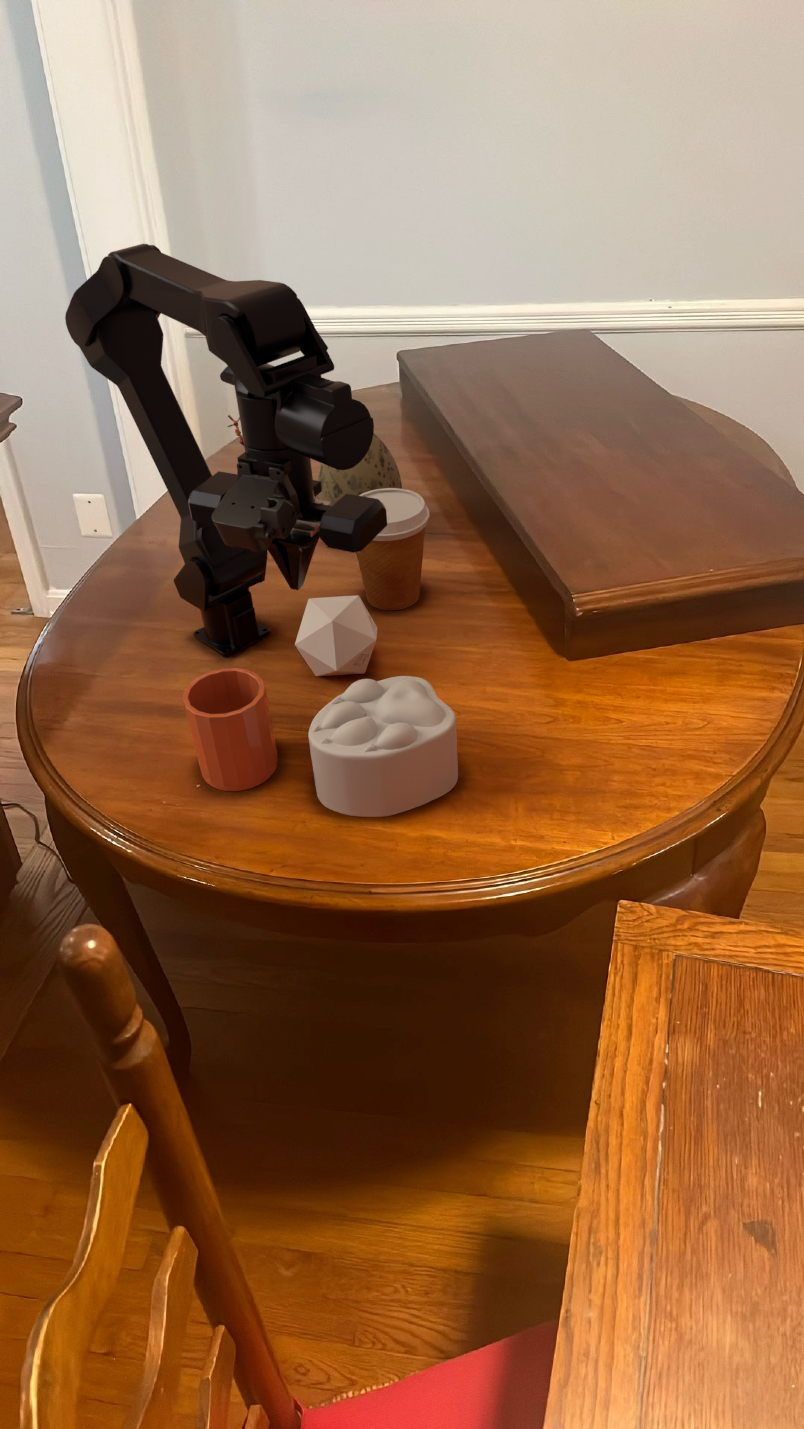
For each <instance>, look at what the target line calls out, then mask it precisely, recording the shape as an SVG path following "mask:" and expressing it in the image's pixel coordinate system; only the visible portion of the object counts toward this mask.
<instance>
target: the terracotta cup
mask: <svg viewBox="0 0 804 1429" xmlns="http://www.w3.org/2000/svg"><path fill="white" fill-rule="evenodd" d="M182 702H183V707H184V710H185V714H186V718H187V723H188V727H189V730H190V734H191V738H192V739H191V740H192V743H193V747H194V750H195V754H196V755H195V756H196V758H197V763H198V766H199V770H200V773H201V777H202V778H203V780H204V781H205V783H206V784H208V785H209V786H210V787H212V788H214V789H216V790H219V791H223V792H242V791H246V790H250V789H252V788H253V789H254V788H255V787H257V786H260V785H261V784H264V783H265V782H266V781H268V780H269V779H270V778H271V777H272V776H273V775H274V773H275V771H276V769H277V767H278V762H279V760H278V755H279V754H278V748H277V744H276V738H275V732H274V727H273V722H272V716H271V710H270V705H269V699H268V694H267V689H266V685H265V681H263V678H262V676H260V675H258V674H257V673H255V672H254V671H252V670H249V669H246V668H240V667H223V668H219V669H215V670H211V671H207V672H205V673H203V674H202V675H200V676H198V677H195V678H194V679H193V680H192V681H191V682H190V683H189V684H188V685H187V686H186V688H185V690H184V693H183V696H182Z"/></svg>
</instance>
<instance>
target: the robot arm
mask: <svg viewBox="0 0 804 1429" xmlns="http://www.w3.org/2000/svg"><path fill="white" fill-rule="evenodd" d="M161 314H162V315H163V316H166V317H168V318H170V319H173V320H174V321H176V322H179V323H180V324H182V325H184V326H187V327H189V328H191V329H193V330H195V331H197V332H198V333H200V334H201V335H203V336H204V337H205V341H206V345H207V349H208V351H209V352H210V353H211V354H212V355H214V356H215V357H217V359H219V360H221V361H222V362H223V363H224V364H225V365H226V367H224V369H223V370H222V371H221V372H220V373H219V378H220V380H221V382H224V383H225V384H229V385H232V386H234V391H235V392H234V393H235V398H236V403H237V404H236V405H237V410H238V415H239V416H238V418H239V417H240V420H239V422H240V430H241V436H242V437H243V441H244V446H243V448H244V447H245V449H244V452H243V453H241V454H240V455H238V456H237V457H236V458H237V463H236V472H237V471H238V475H237V473H231V472H225V471H219V470H218V471H217V472H216V473H214V474H212V472H211V470H210V468H209V466H208V464H207V460H206V459H205V457H204V454H203V453H202V450H201V448H200V446H199V445H198V442H197V440H196V438H195V436H194V433H193V431H192V429H191V427H190V424H189V422H188V421H187V418H186V416H185V414H184V412H183V410H182V408H181V405H180V403H179V400H178V399H177V397H176V395H175V393H174V391H173V388H172V386H171V384H170V382H169V380H168V378H167V375H166V373H165V371H164V369H163V366H162V360H163V347H164V332H163V331H164V330H163V329H162V326H161V323H160V321H159V318H160V316H161ZM64 320H65V326H66V329H67V332H68V334H69V336H70V338H71V339H72V341H73V342H74V344H76V346H78V347H79V349H80V351H81V352H82V354H83V356H84V358H85V360H86V361H87V363H88V365H89V366H90V367H91V368H92V369H93V370H95V371H96V372H97V373H99V374H100V375H101V376H103V377H105V378H106V379H107V380H109V381H110V382H111V383H113V385H115V386H117V388H118V390H119V392H120V394H121V396H122V398H123V401H124V403H125V405H126V406H127V409H128V411H129V412H130V414H131V416H132V419H133V422H134V423H135V425H136V427H137V429H138V431H139V434H140V436H141V438H142V440H143V443H144V444H145V446H146V448H147V450H148V452H149V455H150V457H151V458H152V461H153V462H154V465H155V467H156V469H157V471H158V473H159V475H160V477H161V480H162V481H163V484H164V486H165V488H166V490H167V492H168V495H169V496H170V499H171V500H172V503H173V505H174V506H175V508H176V510H177V513H178V515H179V518H180V526H179V538H178V550H179V552H180V556H181V558H182V560H183V562H184V565H183V566H182V567H181V568H180V570H179V571H178V573H177V575H176V576H175V577H174V578H173V583H174V585H175V588H176V590H177V593H178V595H179V597H180V599H181V600H183V601H186V602H187V603H189V604H190V605H191V606H193V607H195V608H196V609H198V610H200V614H201V620H202V623H203V626H202V627H201V628H199V629H197V630H195V631H194V632H193V633H192V634H193V638H195V639H196V640H197V641H199V642H201V643H202V644H204V645H205V646H207V647H208V648H210V649H211V650H213V651H214V652H215V653H217V654H219V655H220V656H222V657H229V656H231V655H233V654H236V653H237V652H240V651H241V650H242V649H245V648H247V647H248V646H250V645H252V644H254V643H256V642H258V641H259V640H261V639H263V638H265V637H267V636H268V635H270V633H271V632H270V628H268V627H266V626H265V625H264V624H262V623H260V622H258V621H257V615H256V610H255V607H254V602H253V597H252V592H251V591H250V588H251V587H253V586H255V585H257V584H260V583H263V582H265V580H266V572H267V563H268V553H269V555H270V556H271V558H272V559H273V561H274V562H275V564H276V566H277V568H278V570H279V571H280V573H281V574H282V576H283V579H284V580H285V581H286V583H287V585H288V587H289V588H290V590H295V591H300V589H301V588H302V587H303V586H304V583H305V581H306V578H307V575H308V571H309V568H310V565H311V562H312V559H313V556H314V553H315V550H316V547H317V544H318V543H319V540H321V542H323V543H324V545H326V547H327V549H328V548H329V549H333V550H339V551H343V552H349V553H356V552H358V551H362V550H363V549H364V548H365V547H366V546H367V545H368V544H369V543H370V542H371V541H372V540H373V539H374V538H375V537H376V536H377V535H378V534H379V533H380V532H381V531H382V530H383V529H384V528H385V527H386V526H387V514H386V508H385V506H384V504H383V503H382V502H381V501H380V500H379V499H375V498H369V497H364V496H358V495H352V494H345V495H344V496H343V497H342V498H341V499H339V500H338V501H337V502H336V503H335V504H334V505H333V506H330V505H331V504H330V502H329V501H324V500H319V498H316V497H317V496H318V494H319V493H320V492H321V491H322V488H321V481H318V480H317V479H314V477H313V471H312V462H311V461H312V460H313V461H315V462H318V463H320V464H321V463H323V464H325V465H328V466H330V467H332V468H335V469H338V470H347V469H351V468H353V467H355V466H356V465H357V464H358V463H360V462H361V460H362V459H363V458H364V457H365V455H366V454H367V452H368V450H369V448H370V446H371V443H372V439H373V434H374V433H375V432H374V431H375V429H374V428H375V425H374V417H372V416H371V413H370V411H369V409H368V408H367V406H366V405H365V404H364V403H362V401H360V400H357V399H355V398H353V396H352V395H353V393H352V387H351V385H350V384H349V383H348V382H347V383H346V382H344V381H340V380H336V381H335V380H330V379H329V378H326V377H322V376H323V375H325V374H328V373H331V372H332V371H334V370H335V364H334V362H333V360H332V357H331V356H330V354H329V352H328V349H329V346H328V345H327V344H326V342H325V340H324V339H323V338H322V336H321V335H320V333H319V332H318V330H317V329H316V327H315V325H314V323H313V321H312V319H311V317H310V314H309V313H308V311H307V310H306V308H305V306H304V303H303V302H302V301H301V299H300V298H298V294H297V293H296V292H295V290H293V289H292V287H290V286H289V285H287V284H285V283H284V282H281V281H280V282H279V281H270V280H265V279H264V280H263V279H252V280H237V281H236V280H227V279H225V278H222V277H220V276H217V275H215V274H213V273H210V272H208V271H206V270H203V269H201V268H199V267H196V266H194V265H192V264H189V263H188V262H184V261H182V260H179V259H177V258H175V257H172V256H171V255H168V254H166V253H163V252H162V251H161V250H160V249H159V247H157V246H156V245H155V244H148V243H140V244H136V245H132V246H129V247H125V248H121V249H118V250H117V249H116V250H113V251H110V252H109V253H107V256H104V257H102V259H101V262H100V264H99V266H98V269H97V270H96V271H95V272H94V273H93V274H92V275H91V276H89V278H88V279H86V280H85V281H84V282H83V283H82V284H81V285H80V286H79V287H77V289H76V290H75V291H74V292H73V294H72V297H71V299H70V301H69V304H68V307H67V309H66V311H65V315H64ZM297 353H301V354H302V356H299V357H296V358H294V359H291V360H288V361H285V362H283V363H280V364H278V365H277V364H276V365H274V364H273V365H272V364H270V363H272V362H275V361H278V360H280V359H283V358H287V357H288V356H289V357H290V356H291V355H294V354H297Z"/></svg>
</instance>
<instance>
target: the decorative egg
mask: <svg viewBox="0 0 804 1429" xmlns="http://www.w3.org/2000/svg"><path fill="white" fill-rule="evenodd" d="M398 467H399V466H398V465H397V462H396V460H395V458H394V456H393V455H392V453H391V451H390V449H389V448H388V446H387V445H386V444H385V443H384V441H383V440H382V439H381V437H379V436H378V435H377V434H376V433H375V432H374V434H373V439H372V443H371V446H370V448H369V450H368V452H367V454H366V455H365V457H364V458H363V459H362V460H361V462H360V463H358V464H357V465H356V466H355V467H353V468H351V469H347V470H338V469H335V468H332V467H330V466H328V465H325V464H323V463H320V466H319V470H318V475H317V476H318V477H317V481H321V488H322V491H321V492H320V493H319V494H318V495H317V496H318V499H319V500H324V501H329V502H330V504H331V505H330V506H333V505H334V504H335V503H336V502H337V501H338V500H339V499H341V498H342V497H343V496H344V495H345V494H352V495H358V496H359V495H361V494H363V493H365V492H368V491H372V490H376V489H383V488H399V489H403V484H402V477H401V474H400V470H399V468H398Z"/></svg>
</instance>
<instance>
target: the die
mask: <svg viewBox="0 0 804 1429" xmlns="http://www.w3.org/2000/svg"><path fill="white" fill-rule="evenodd" d="M377 637H378V626H377V625H376V623H375V621H374V619H373V617H372V616H371V614H370V612H369V611H368V608H367V607H366V606H365V603H364V602H363V599H362V598H361V597H360V595H358V594H357V595H342V596H340V595H339V596H324V597H311V598H310V597H309V598H308V600H307V602H306V606H305V609H304V613H303V615H302V620H301V623H300V625H299V629H298V631H297V636H296V639H295V643H294V647H295V648H296V649H297V651H298V652H299V653H300V655H301V657H302V658H303V659H304V662H306V664H307V665H308V667H309V669H310V670H311V671H312V673H313V675H314V676H315V677H328V676H329V677H331V676H345V675H346V676H347V675H363V674H366V671H367V668H368V666H369V663H370V660H371V657H372V654H373V651H374V648H375V646H376V643H377V639H378V638H377Z"/></svg>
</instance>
